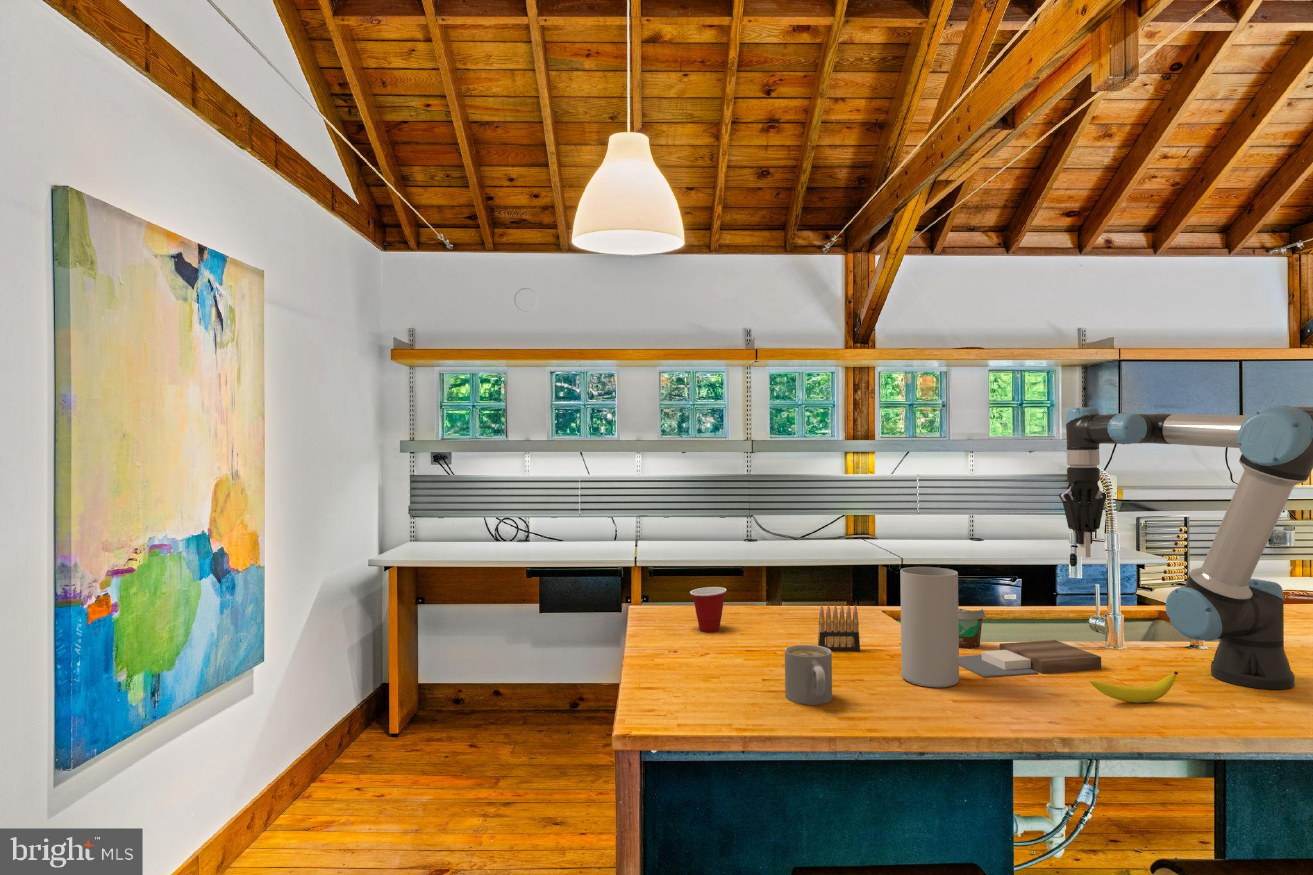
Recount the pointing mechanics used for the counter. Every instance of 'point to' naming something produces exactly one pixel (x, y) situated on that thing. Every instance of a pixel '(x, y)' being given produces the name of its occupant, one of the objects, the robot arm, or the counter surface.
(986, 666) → the charcoal mat
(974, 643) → the food container
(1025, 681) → the counter surface
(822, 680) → the coffee mug
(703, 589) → the plastic cup
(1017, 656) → the ceramic tile
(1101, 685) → the banana
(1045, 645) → the walnut board
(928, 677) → the cylinder vase
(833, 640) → the ammunition clip
